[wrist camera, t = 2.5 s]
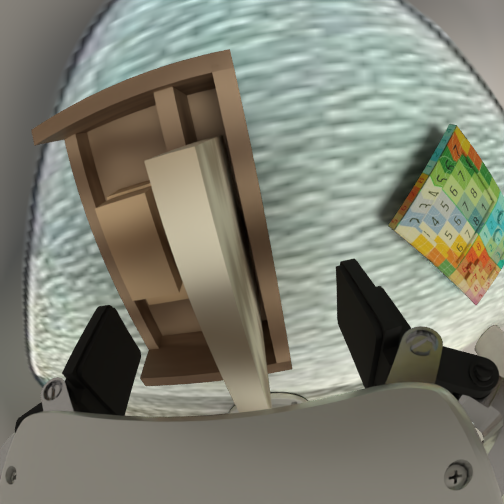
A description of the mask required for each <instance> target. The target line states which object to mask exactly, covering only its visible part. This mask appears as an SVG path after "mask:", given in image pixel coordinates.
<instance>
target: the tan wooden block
mask: <svg viewBox="0 0 504 504" xmlns="http://www.w3.org/2000/svg"><path fill="white" fill-rule="evenodd" d="M95 211H96V214H97V217H98V220H99V222H100V225H101V228H102V230H103V233H104V236H105V238H106V241H107V244H108V246H109V249H110V251H111V254H112V256H113V258H114V261H115V263H116V266H117V268H118V270H119V272H120V275H121V277H122V279H123V281H124V284H125V286H126V288H127V290H128V292H129V294H130V297H131V299H132V301H135V300H142V299H146V300H147V302H148V304H149V305H153V304H159V303H165V302H171V301H177V300H183V299H189V297H188V294H187V292H186V289H185V287H184V284H183V281H182V278H181V276H180V273H179V270H178V267H177V265H176V262H175V259H174V256H173V253H172V250H171V247H170V244H169V241H168V238H167V235H166V232H165V229H164V226H163V223H162V220H161V217H160V214H159V210H158V207H157V204H156V201H155V197H154V194H153V190H152V187H151V184H150V180H148V181H144V182H141V183H138V184H135V185H132V186H128V187H125V188H122V189H119V190H117V191H116V192H114V193H113V194H111V195H109V196H108V197H107V201H106V202H104V203H103V204H101V205H100V206H98V207H97V208H95Z"/></svg>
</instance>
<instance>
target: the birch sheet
mask: <svg viewBox="0 0 504 504" xmlns="http://www.w3.org/2000/svg"><path fill="white" fill-rule="evenodd" d="M144 162H145V166H146V169H147V173H148V176H149V180H150V184H151V187H152V190H153V194H154V197H155V201H156V204H157V207H158V210H159V214H160V217H161V220H162V223H163V226H164V229H165V232H166V235H167V238H168V241H169V244H170V247H171V250H172V253H173V256H174V259H175V262H176V265H177V267H178V270H179V273H180V276H181V278H182V281H183V284H184V287H185V289H186V292H187V294H188V297H189V300H190V302H191V305H192V307H193V310H194V312H195V315H196V317H197V320H198V322H199V325H200V327H201V330H202V332H203V335H204V337H205V339H206V342H207V344H208V346H209V349H210V351H211V353H212V356H213V358H214V360H215V362H216V365H217V367H218V369H219V371H220V373H221V376H222V378H223V380H224V382H225V384H226V386H227V389H228V391H229V393H230V395H231V397H232V399H233V401H234V403H235V405H236V407H237V409H238V411H239V413H240V412H248V411H256V410H263V409H270V408H272V405H271V396H270V388H269V380H268V371H267V363H266V355H265V346H264V338H263V330H262V322H261V313H260V305H259V297H258V289H257V285H256V280H255V276H254V271H253V267H252V263H251V258H250V254H249V249H248V245H247V241H246V236H245V232H244V227H243V223H242V219H241V214H240V210H239V205H238V201H237V196H236V192H235V188H234V183H233V179H232V174H231V170H230V165H229V161H228V156H227V152H226V148H225V143H224V139H223V135H220V136H216V137H211V138H207V139H203V140H200V141H197V142H194V143H191V144H188V145H185V146H183V147H180V148H177V149H174V150H171V151H169V152H166V153H163V154H161V155H158V156H155V157H153V158H150V159H148V160H145V161H144Z"/></svg>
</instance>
